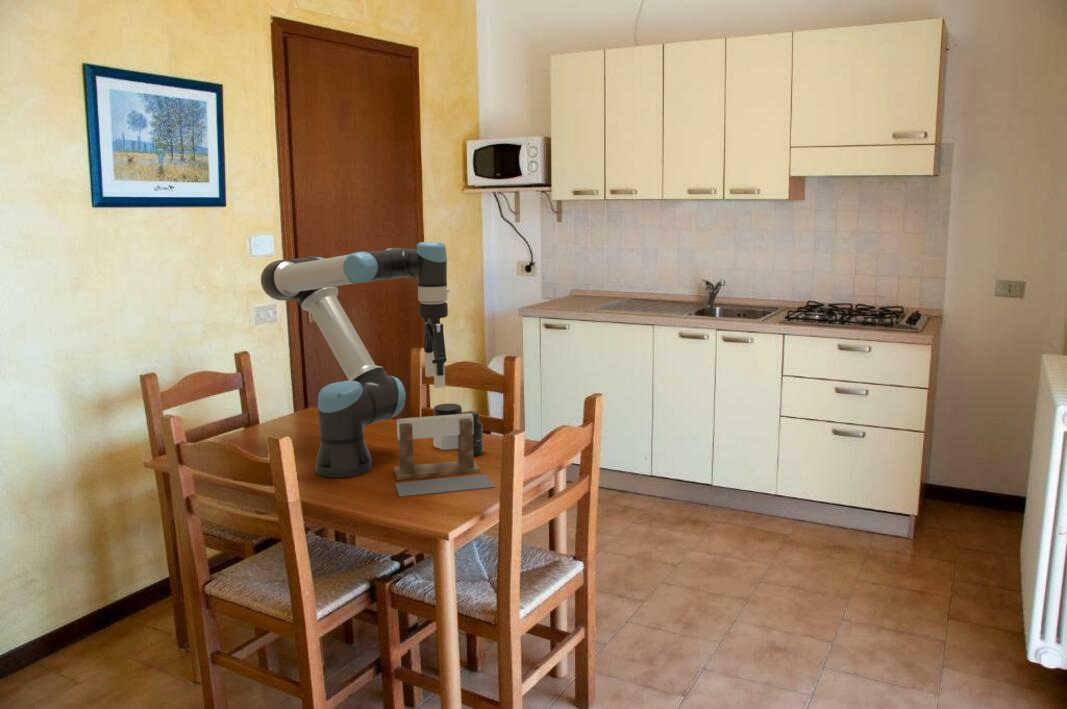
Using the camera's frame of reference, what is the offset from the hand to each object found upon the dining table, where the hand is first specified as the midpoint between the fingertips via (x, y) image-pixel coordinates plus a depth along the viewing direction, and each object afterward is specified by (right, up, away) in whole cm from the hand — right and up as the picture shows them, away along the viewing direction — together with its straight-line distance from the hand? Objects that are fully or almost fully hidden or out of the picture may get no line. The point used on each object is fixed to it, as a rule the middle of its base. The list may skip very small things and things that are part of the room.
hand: (435, 381), depth 224 cm
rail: (0, -14, +2) cm, 15 cm away
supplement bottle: (+8, -21, +19) cm, 30 cm away
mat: (+3, -26, -7) cm, 28 cm away
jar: (+1, -20, +27) cm, 33 cm away
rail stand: (0, -24, +4) cm, 25 cm away
